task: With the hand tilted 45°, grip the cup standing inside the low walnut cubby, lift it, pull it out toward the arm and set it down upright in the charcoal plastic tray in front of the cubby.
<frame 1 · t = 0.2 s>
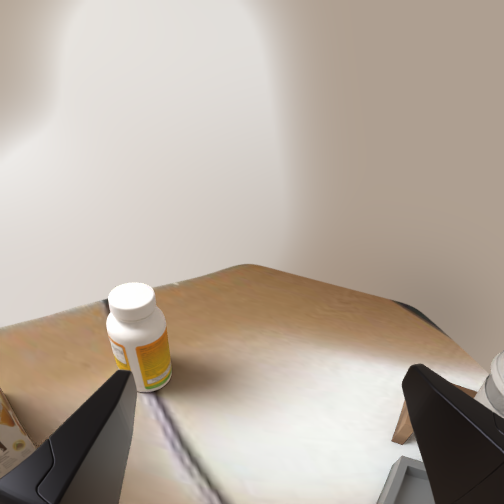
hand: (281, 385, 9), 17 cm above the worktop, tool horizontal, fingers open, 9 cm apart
cup: (457, 454, 19), on the worktop
supplement bottle: (146, 374, 28), on the worktop
cubby: (458, 453, 19), on the worktop
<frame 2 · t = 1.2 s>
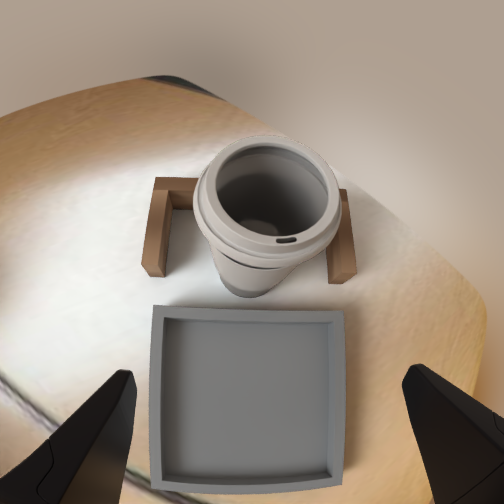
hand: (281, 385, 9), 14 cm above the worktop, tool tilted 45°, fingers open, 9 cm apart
cup: (248, 269, 24), on the worktop
cubby: (248, 269, 24), on the worktop
tray: (247, 404, 21), on the worktop
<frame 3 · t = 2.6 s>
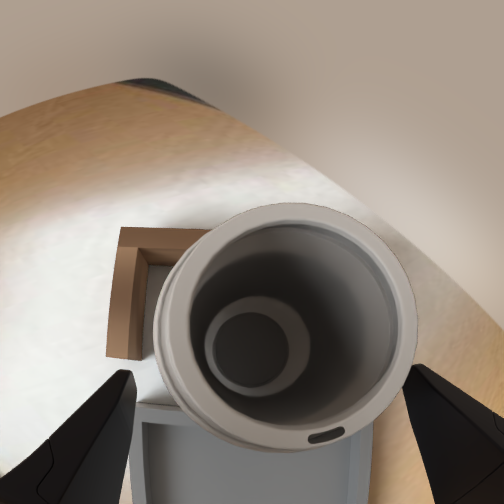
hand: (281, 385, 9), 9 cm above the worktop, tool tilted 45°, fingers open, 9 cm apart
cup: (250, 350, 18), on the worktop
cubby: (251, 349, 18), on the worktop
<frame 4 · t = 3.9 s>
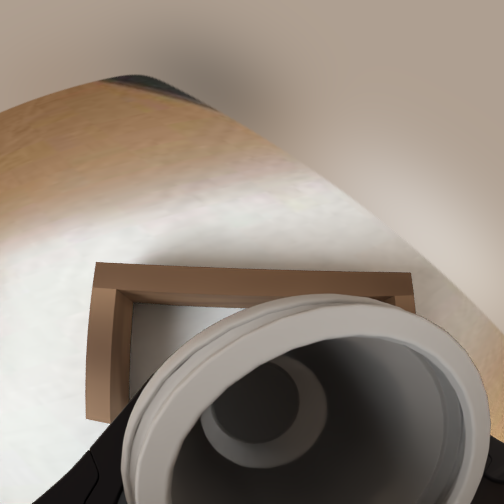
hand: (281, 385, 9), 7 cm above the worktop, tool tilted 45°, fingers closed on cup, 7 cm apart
cup: (255, 402, 14), on the worktop, touching gripper
cubby: (255, 403, 14), on the worktop
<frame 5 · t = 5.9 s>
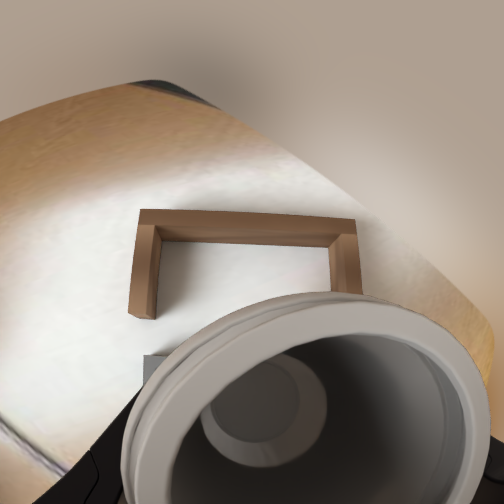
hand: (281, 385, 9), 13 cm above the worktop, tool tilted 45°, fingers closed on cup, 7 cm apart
cup: (255, 401, 14), point 6 cm above the worktop, touching gripper
cubby: (245, 309, 22), on the worktop
tray: (245, 449, 19), on the worktop
when the fingers open (8 cm above the worktop, at t = 8.0 s): cup drops 1 cm, resting on tray.
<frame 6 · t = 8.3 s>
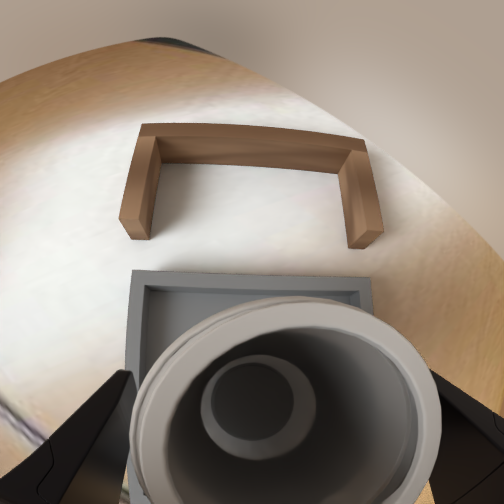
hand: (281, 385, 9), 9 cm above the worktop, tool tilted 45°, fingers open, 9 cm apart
cup: (252, 402, 16), point 1 cm above the worktop, touching tray
cubby: (251, 229, 20), on the worktop
tray: (251, 398, 16), on the worktop
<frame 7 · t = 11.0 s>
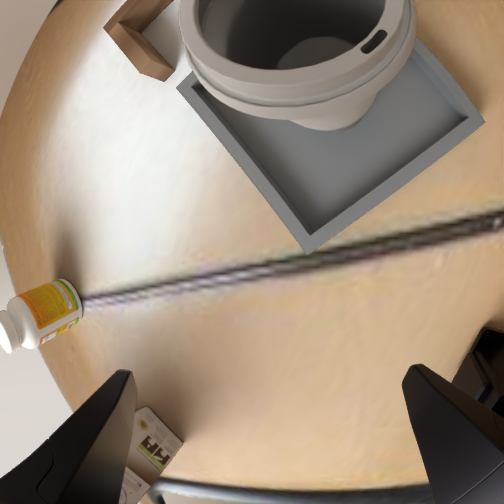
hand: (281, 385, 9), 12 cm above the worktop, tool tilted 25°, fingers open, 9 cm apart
cup: (330, 97, 16), resting on tray
coffee box: (146, 430, 31), on the worktop
supplement bottle: (69, 300, 29), on the worktop
cubby: (231, 6, 17), on the worktop
tray: (329, 97, 17), on the worktop
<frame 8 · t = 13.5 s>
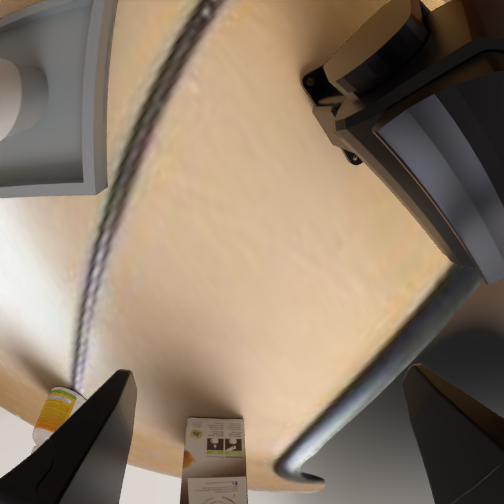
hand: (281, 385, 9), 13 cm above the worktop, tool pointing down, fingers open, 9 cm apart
cup: (25, 98, 15), resting on tray
coffee box: (216, 435, 32), on the worktop
supplement bottle: (71, 398, 28), on the worktop
tray: (27, 98, 15), on the worktop
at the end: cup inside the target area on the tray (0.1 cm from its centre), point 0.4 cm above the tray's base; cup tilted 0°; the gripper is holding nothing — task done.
